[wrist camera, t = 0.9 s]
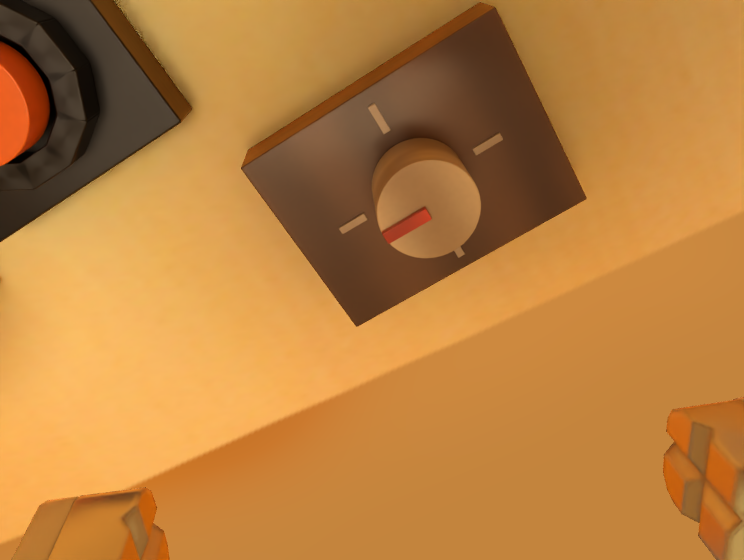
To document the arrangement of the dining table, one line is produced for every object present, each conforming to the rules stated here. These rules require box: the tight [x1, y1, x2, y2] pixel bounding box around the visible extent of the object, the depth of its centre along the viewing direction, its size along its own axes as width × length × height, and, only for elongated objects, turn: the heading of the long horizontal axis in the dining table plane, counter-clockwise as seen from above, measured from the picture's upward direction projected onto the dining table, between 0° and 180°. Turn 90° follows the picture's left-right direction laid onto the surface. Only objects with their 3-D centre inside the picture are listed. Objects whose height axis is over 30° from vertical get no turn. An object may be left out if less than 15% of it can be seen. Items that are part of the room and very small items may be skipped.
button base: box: [0, 0, 192, 242], centre depth 28 cm, size 11×10×4 cm
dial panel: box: [241, 2, 586, 326], centre depth 32 cm, size 13×10×3 cm
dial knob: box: [372, 138, 481, 258], centre depth 29 cm, size 4×4×4 cm
